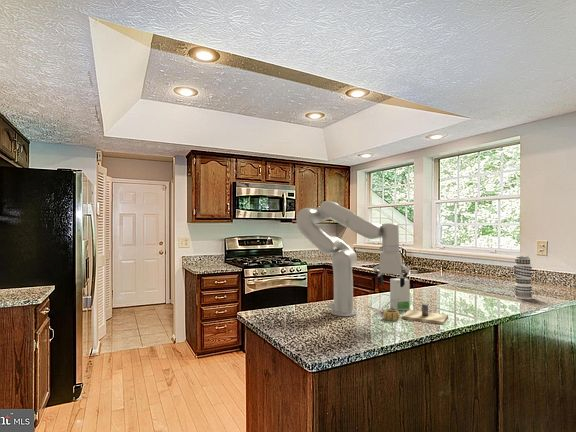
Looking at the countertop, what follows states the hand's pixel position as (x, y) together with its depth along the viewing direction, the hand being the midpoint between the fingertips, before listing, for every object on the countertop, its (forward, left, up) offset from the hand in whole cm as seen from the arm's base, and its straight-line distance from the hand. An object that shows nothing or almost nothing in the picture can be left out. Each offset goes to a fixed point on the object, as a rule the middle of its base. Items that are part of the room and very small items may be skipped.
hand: (391, 285), depth 162 cm
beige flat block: (+13, +10, -15) cm, 22 cm away
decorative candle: (+53, +89, -16) cm, 105 cm away
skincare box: (-2, +22, -16) cm, 27 cm away
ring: (0, 0, -15) cm, 15 cm away
